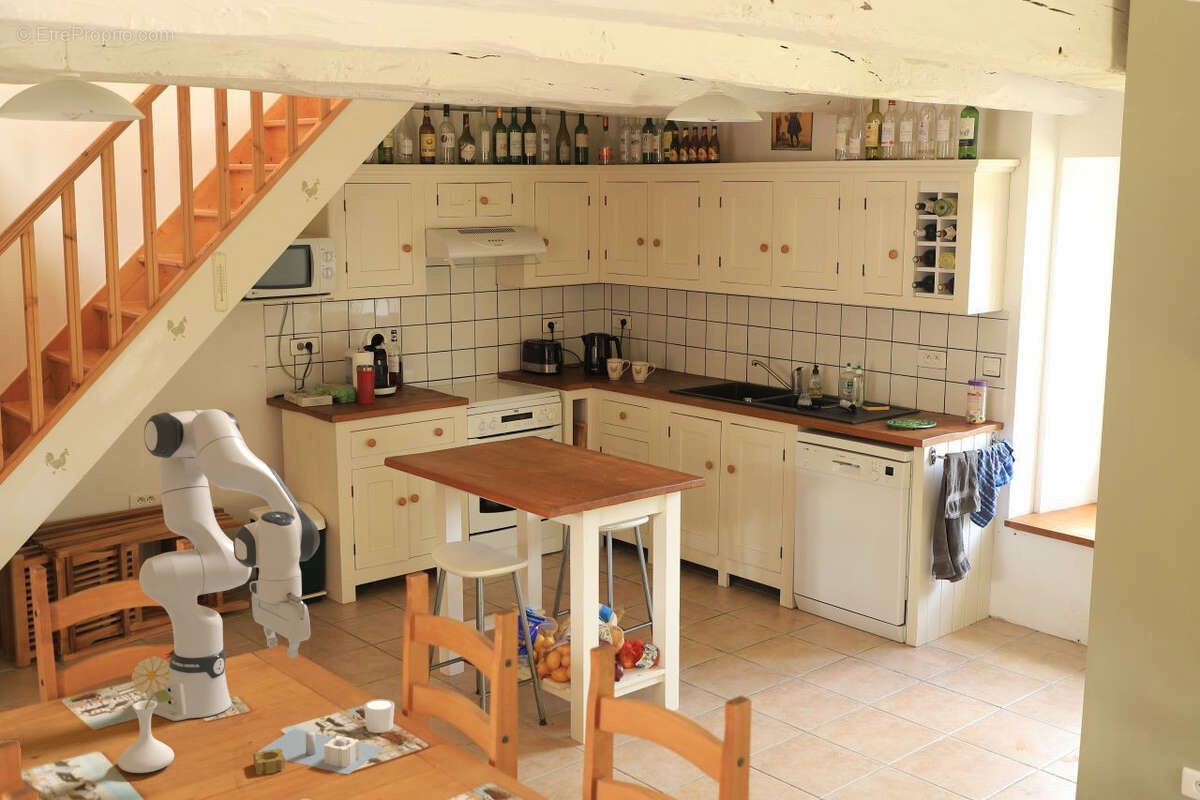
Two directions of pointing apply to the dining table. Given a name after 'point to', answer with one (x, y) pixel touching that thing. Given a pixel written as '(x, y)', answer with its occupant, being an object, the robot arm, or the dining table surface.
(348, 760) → the white gear
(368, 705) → the white cup
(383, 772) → the dining table surface
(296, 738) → the board
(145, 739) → the flower in vase
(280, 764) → the gear
